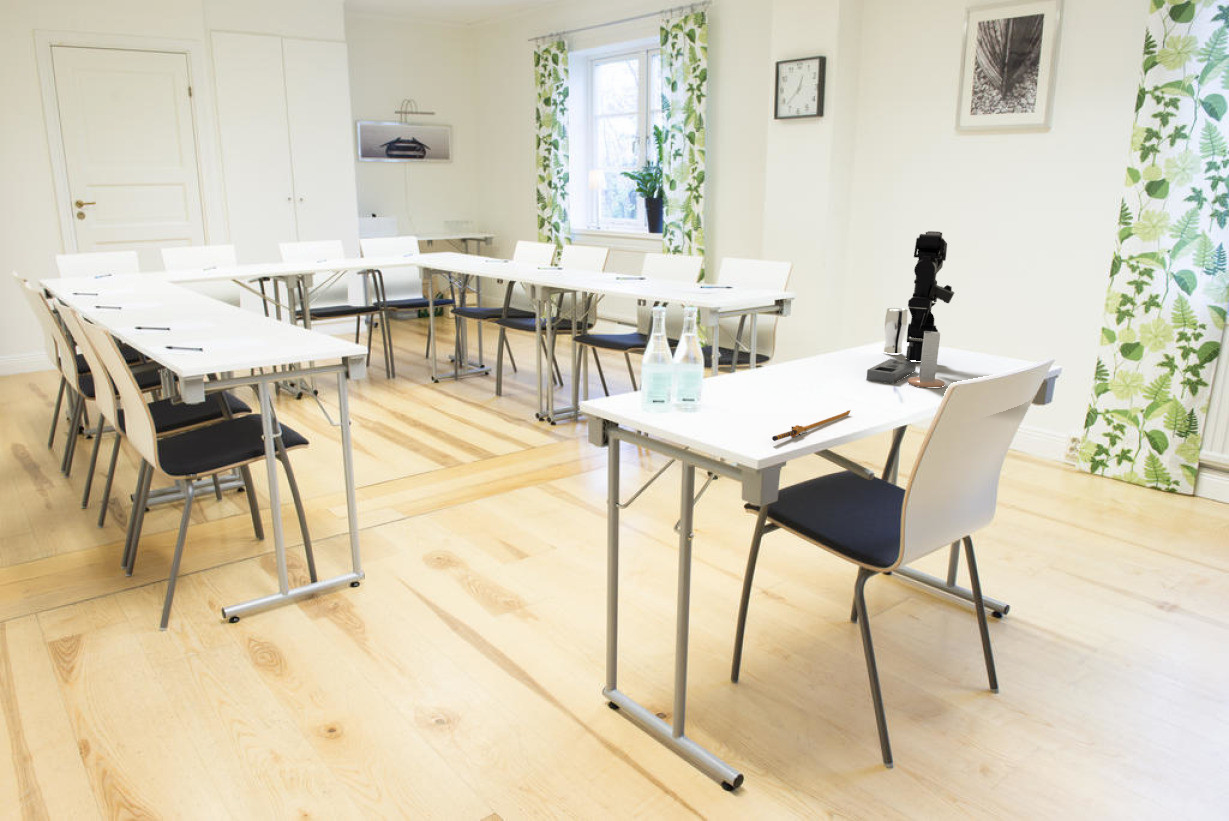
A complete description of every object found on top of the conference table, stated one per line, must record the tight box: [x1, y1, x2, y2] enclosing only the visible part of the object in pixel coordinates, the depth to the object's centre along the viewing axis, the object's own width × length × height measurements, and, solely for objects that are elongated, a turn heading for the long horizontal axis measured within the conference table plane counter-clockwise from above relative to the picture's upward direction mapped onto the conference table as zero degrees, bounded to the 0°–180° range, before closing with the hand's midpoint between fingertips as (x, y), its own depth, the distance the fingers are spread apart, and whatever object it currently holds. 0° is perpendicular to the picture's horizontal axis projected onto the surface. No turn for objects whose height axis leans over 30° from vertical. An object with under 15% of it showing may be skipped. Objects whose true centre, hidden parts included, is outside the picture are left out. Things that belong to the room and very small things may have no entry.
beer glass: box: [883, 307, 909, 353], centre depth 287 cm, size 7×7×15 cm
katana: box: [771, 409, 851, 442], centre depth 200 cm, size 1×35×3 cm, turn 138°
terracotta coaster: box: [907, 376, 946, 388], centre depth 246 cm, size 10×10×1 cm
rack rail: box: [866, 358, 917, 384], centre depth 256 cm, size 20×8×3 cm, turn 145°
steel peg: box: [918, 331, 941, 383], centre depth 244 cm, size 4×4×14 cm
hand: (919, 327), depth 262 cm, fingers open, 9 cm apart
